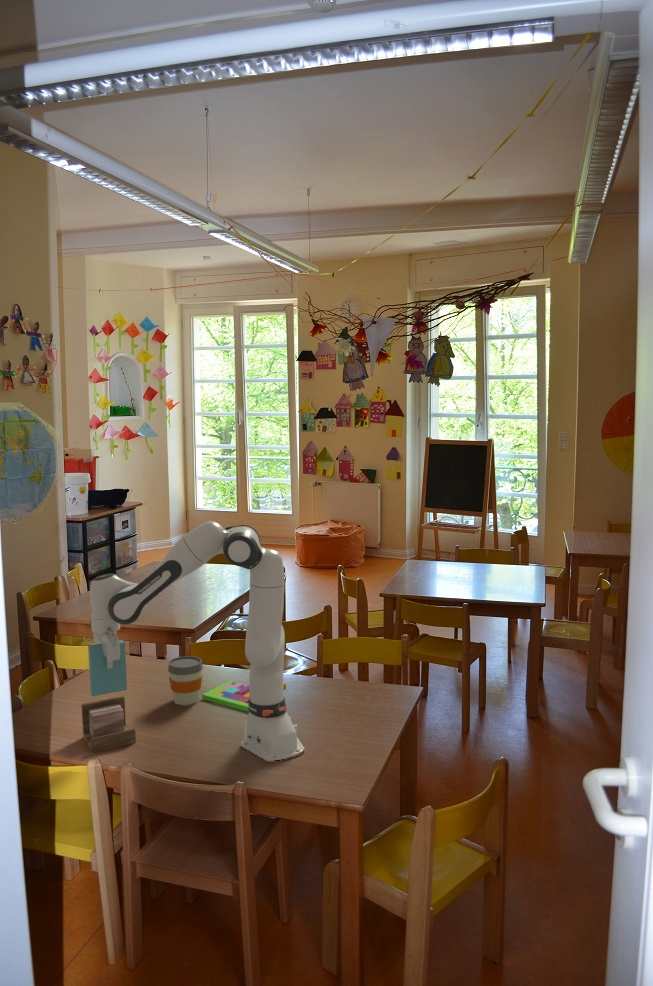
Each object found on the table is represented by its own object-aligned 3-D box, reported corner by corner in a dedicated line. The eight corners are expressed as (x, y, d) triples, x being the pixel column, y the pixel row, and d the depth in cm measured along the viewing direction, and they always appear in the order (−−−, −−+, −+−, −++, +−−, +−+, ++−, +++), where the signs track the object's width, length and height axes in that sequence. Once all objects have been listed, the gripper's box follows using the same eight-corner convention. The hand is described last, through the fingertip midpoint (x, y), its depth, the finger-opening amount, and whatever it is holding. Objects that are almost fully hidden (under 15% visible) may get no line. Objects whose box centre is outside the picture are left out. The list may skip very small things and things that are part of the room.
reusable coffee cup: (184, 691, 295) (183, 653, 293) (210, 697, 289) (209, 659, 287) (162, 703, 285) (160, 664, 283) (188, 710, 278) (187, 670, 276)
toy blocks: (250, 713, 276) (290, 690, 297) (250, 707, 276) (290, 684, 296) (202, 700, 288) (244, 678, 309) (202, 694, 288) (244, 673, 309)
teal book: (127, 689, 252) (124, 642, 249) (92, 696, 246) (90, 648, 244) (124, 686, 254) (122, 639, 252) (90, 693, 249) (88, 645, 247)
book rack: (135, 742, 253) (134, 709, 252) (92, 752, 246) (90, 718, 245) (125, 727, 264) (123, 695, 263) (83, 736, 257) (81, 704, 256)
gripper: (124, 631, 240) (126, 674, 242) (107, 614, 257) (109, 654, 259) (103, 634, 237) (105, 677, 239) (88, 617, 254) (90, 658, 256)
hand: (107, 665), depth 249 cm, fingers closed on teal book, 3 cm apart
